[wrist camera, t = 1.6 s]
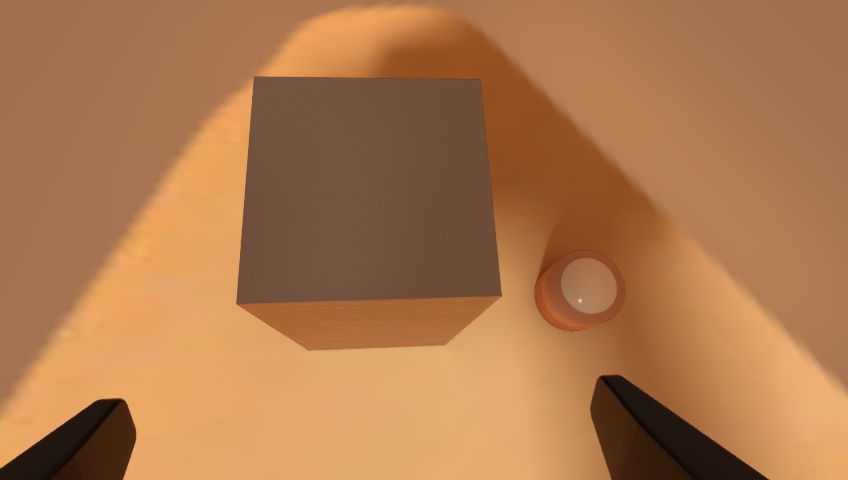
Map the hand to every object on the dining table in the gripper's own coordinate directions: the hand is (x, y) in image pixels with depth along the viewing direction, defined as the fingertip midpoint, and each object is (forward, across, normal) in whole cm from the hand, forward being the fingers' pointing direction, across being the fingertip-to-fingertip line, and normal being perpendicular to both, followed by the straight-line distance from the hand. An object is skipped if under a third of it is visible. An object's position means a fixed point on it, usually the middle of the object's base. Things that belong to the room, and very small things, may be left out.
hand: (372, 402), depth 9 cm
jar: (+11, -9, +5) cm, 15 cm away
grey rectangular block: (+12, 0, +5) cm, 13 cm away
